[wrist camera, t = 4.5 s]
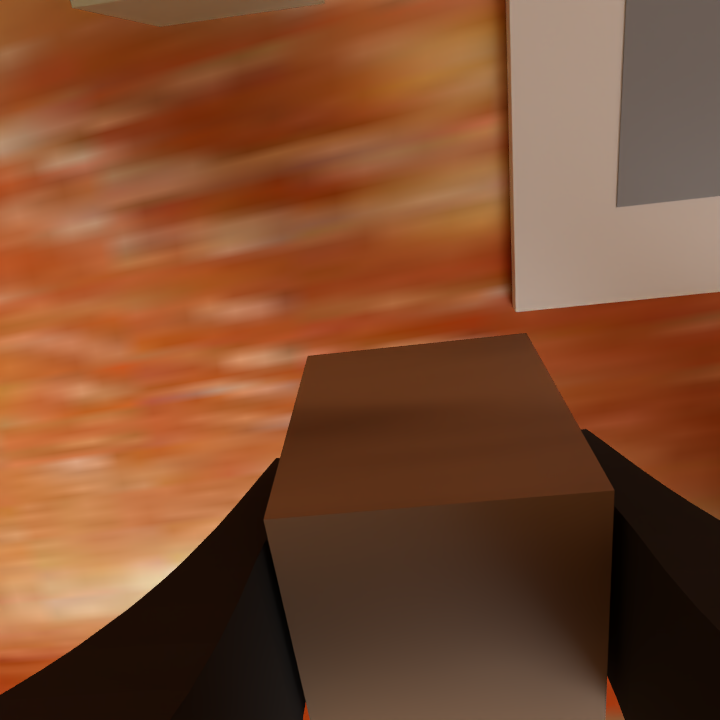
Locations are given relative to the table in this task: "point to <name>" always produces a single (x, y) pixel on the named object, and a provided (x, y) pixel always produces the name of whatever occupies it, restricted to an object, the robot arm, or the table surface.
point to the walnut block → (442, 538)
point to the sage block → (184, 9)
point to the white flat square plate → (613, 150)
